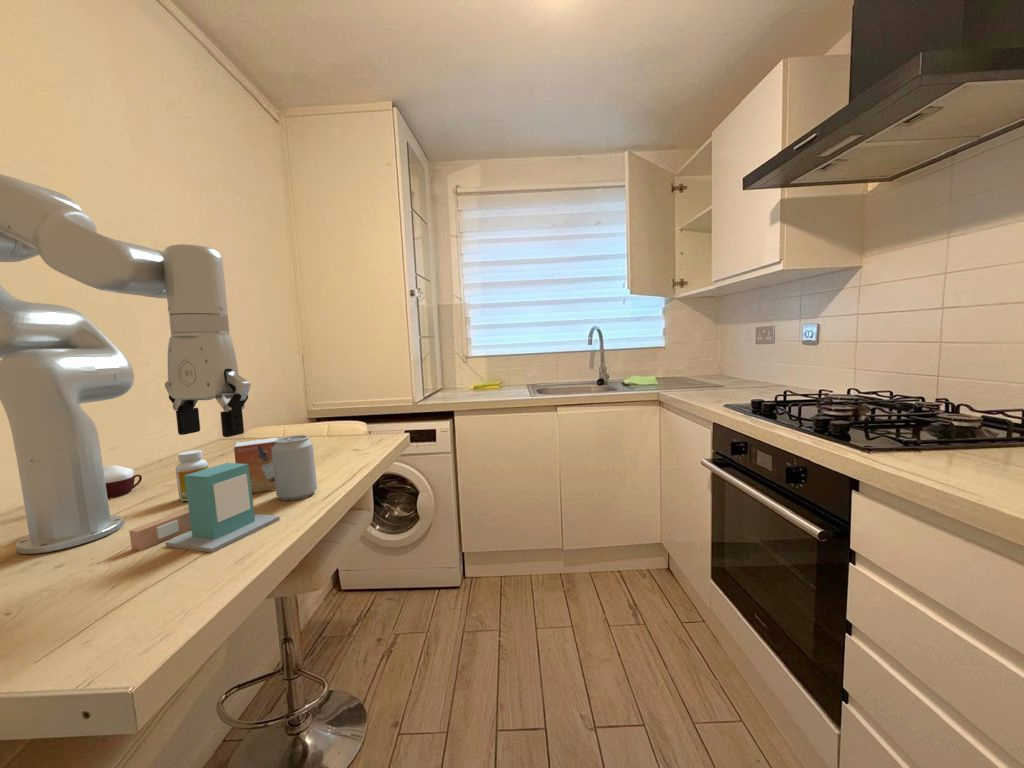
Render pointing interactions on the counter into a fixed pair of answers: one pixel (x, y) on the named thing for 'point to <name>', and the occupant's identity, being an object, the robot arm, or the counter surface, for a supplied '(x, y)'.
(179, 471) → the supplement bottle
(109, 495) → the cocoa
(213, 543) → the mat
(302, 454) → the can
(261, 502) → the counter surface
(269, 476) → the small box
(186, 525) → the price rail
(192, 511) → the carton block
